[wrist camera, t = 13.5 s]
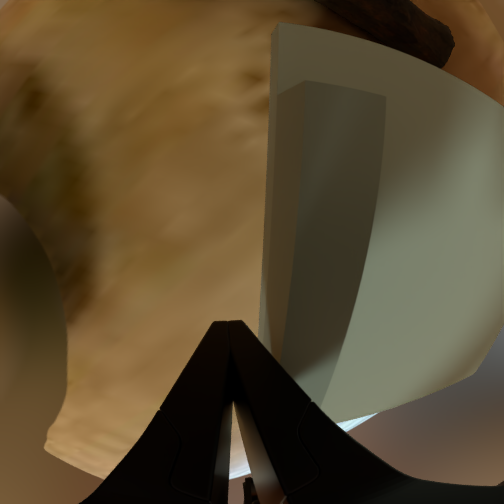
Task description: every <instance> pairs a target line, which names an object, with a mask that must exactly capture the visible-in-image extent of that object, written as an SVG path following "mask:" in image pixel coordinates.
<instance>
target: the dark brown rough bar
mask: <svg viewBox="0 0 504 504" xmlns="http://www.w3.org/2000/svg"><path fill="white" fill-rule="evenodd" d="M315 1H316V2H318V3H320V4H322V5H324V6H326V7H328V8H330V9H331V10H333V11H334V12H336V13H337V14H339V15H340V16H342V17H344V18H346V19H348V20H349V21H350V22H352V23H353V24H354V25H356V26H358V27H360V28H363V29H365V30H366V31H368V32H369V33H371V34H372V35H373V36H374V37H376V38H378V39H379V40H381V41H382V42H384V43H385V44H387V45H388V46H389V47H391V48H392V49H395V50H398V51H400V52H403V53H405V54H408V55H410V56H413V57H415V58H418V59H420V60H422V61H424V62H427V63H429V64H431V65H433V66H435V67H437V68H439V69H441V68H442V67H443V66H444V65H445V64H446V62H447V61H448V59H449V57H450V55H451V52H452V49H453V48H454V47H455V43H454V40H453V36H452V34H451V31H450V29H449V27H448V26H446V25H444V24H443V23H441V22H440V21H438V20H436V19H433V18H432V17H430V16H428V15H427V14H425V13H424V12H423V11H422V10H420V9H419V8H418V7H417V6H416V5H414V4H413V3H412V2H411V1H410V0H315Z"/></svg>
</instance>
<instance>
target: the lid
mask: <svg viewBox="0 0 504 504" xmlns="http://www.w3.org/2000/svg"><path fill="white" fill-rule="evenodd" d="M503 325H504V107H503V106H502V105H501V104H499V103H498V102H496V101H495V100H493V99H492V98H490V97H489V96H487V95H486V94H484V93H483V92H481V91H479V90H478V89H476V88H474V87H473V86H471V85H469V84H468V83H466V82H464V81H462V80H461V79H459V78H457V77H455V76H453V75H451V74H449V73H447V72H446V71H444V70H442V69H439V68H437V67H435V66H433V65H431V64H429V63H427V62H424V61H422V60H420V59H418V58H415V57H413V56H410V55H408V54H405V53H403V52H400V51H398V50H395V49H392V48H389V47H387V46H384V45H381V44H378V43H375V42H371V41H368V40H365V39H361V38H358V37H354V36H351V35H347V34H343V33H339V32H334V31H330V30H325V29H320V28H315V27H310V26H304V25H298V24H291V23H283V22H279V23H278V24H277V26H276V28H275V29H274V31H273V32H272V34H271V68H270V98H269V126H268V151H267V175H266V197H265V218H264V239H263V258H262V277H261V295H260V312H259V329H258V339H259V341H260V342H261V343H262V344H263V345H264V346H265V348H266V349H267V350H268V351H269V352H270V353H271V354H272V356H273V357H274V358H275V359H276V360H277V361H278V362H279V364H280V365H281V366H282V367H283V368H284V369H285V370H286V371H287V373H288V374H289V375H290V376H291V377H292V378H293V379H294V380H295V382H296V383H297V384H298V385H299V386H300V387H301V388H302V389H303V390H304V391H305V392H306V394H307V395H308V396H309V397H310V398H311V399H312V402H313V401H314V402H315V403H316V404H317V405H318V406H319V407H320V408H321V410H322V411H323V412H324V413H325V414H326V415H327V416H328V417H329V418H330V419H331V420H333V421H334V422H335V423H340V422H344V421H348V420H352V419H356V418H360V417H364V416H367V415H371V414H374V413H378V412H381V411H384V410H387V409H391V408H394V407H396V406H399V405H402V404H405V403H408V402H411V401H413V400H416V399H419V398H421V397H424V396H426V395H429V394H431V393H434V392H436V391H438V390H441V389H443V388H445V387H447V386H450V385H452V384H454V383H456V382H458V381H460V380H462V379H464V378H466V377H468V376H470V375H472V374H474V373H475V372H476V370H477V368H478V367H479V366H480V364H481V362H482V361H483V359H484V358H485V356H486V354H487V353H488V351H489V350H490V348H491V346H492V344H493V343H494V341H495V339H496V338H497V336H498V334H499V332H500V330H501V328H502V327H503Z"/></svg>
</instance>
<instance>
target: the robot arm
mask: <svg viewBox="0 0 504 504" xmlns="http://www.w3.org/2000/svg"><path fill="white" fill-rule="evenodd" d="M233 403H234V407H235V412H236V416H237V420H238V424H239V428H240V432H241V436H242V440H243V444H244V448H245V452H246V456H247V460H248V463H249V467H250V471H251V474H252V478H251V477H248V478H245V482H244V483H243V489H244V504H504V481H503V482H501V483H500V484H498V485H497V486H472V485H459V484H449V483H441V482H434V481H428V480H421V479H417V478H414V477H411V476H409V475H406V474H404V473H402V472H400V471H398V470H396V469H395V468H393V467H392V466H390V465H389V464H388V463H386V462H385V461H383V460H382V459H380V458H379V457H378V456H376V455H375V454H374V453H372V452H371V451H369V450H368V449H367V448H365V447H364V446H363V445H361V444H360V443H358V442H357V441H356V440H355V439H353V438H352V437H351V436H349V434H347V433H346V432H345V431H344V430H343V429H341V428H340V427H339V426H338V425H337V424H336V423H335V422H334V421H333V420H331V419H330V418H329V417H328V416H327V415H326V414H325V413H324V412H323V411H322V410H321V408H320V407H319V406H318V405H317V404H316V403H315V402H314V401H313V402H312V399H311V398H310V397H309V396H308V395H307V394H306V392H305V391H304V390H303V389H302V388H301V387H300V386H299V385H298V384H297V383H296V382H295V380H294V379H293V378H292V377H291V376H290V375H289V374H288V373H287V371H286V370H285V369H284V368H283V367H282V366H281V365H280V364H279V362H278V361H277V360H276V359H275V358H274V357H273V356H272V354H271V353H270V352H269V351H268V350H267V349H266V348H265V346H264V345H263V344H262V343H261V342H260V341H259V339H258V338H257V337H256V336H255V335H254V333H253V332H252V331H251V330H250V329H249V328H248V326H247V325H246V324H245V323H244V322H243V321H242V320H231V321H214V322H213V323H212V324H211V326H210V327H209V329H208V331H207V332H206V334H205V335H204V337H203V339H202V340H201V342H200V344H199V345H198V347H197V348H196V350H195V352H194V353H193V355H192V356H191V358H190V360H189V361H188V363H187V365H186V366H185V368H184V369H183V371H182V373H181V374H180V376H179V377H178V379H177V381H176V382H175V384H174V386H173V387H172V389H171V390H170V392H169V394H168V395H167V397H166V398H165V400H164V402H163V403H162V405H161V406H160V410H158V411H157V413H156V414H155V416H154V417H153V419H152V421H151V422H150V424H149V425H148V427H147V428H146V430H145V431H144V433H143V434H142V435H141V437H140V438H139V440H138V441H137V442H136V443H135V445H134V446H133V447H132V448H131V450H130V451H129V452H128V453H127V455H126V456H125V457H124V458H123V459H122V460H121V462H120V463H119V464H118V465H117V466H116V467H115V468H114V470H113V471H112V472H111V473H110V474H109V475H108V476H107V478H106V479H105V480H104V481H103V482H102V483H101V484H100V485H99V487H98V488H97V489H96V490H95V491H94V492H93V493H92V494H91V495H90V496H88V497H87V498H86V499H85V500H83V501H82V502H80V503H79V504H228V486H229V466H230V446H231V427H232V409H233Z"/></svg>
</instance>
